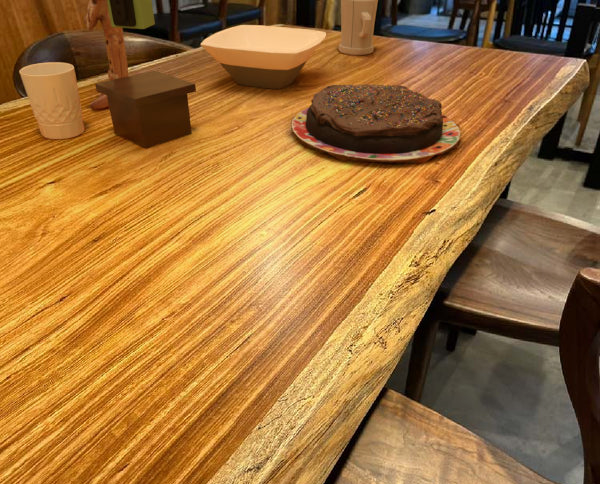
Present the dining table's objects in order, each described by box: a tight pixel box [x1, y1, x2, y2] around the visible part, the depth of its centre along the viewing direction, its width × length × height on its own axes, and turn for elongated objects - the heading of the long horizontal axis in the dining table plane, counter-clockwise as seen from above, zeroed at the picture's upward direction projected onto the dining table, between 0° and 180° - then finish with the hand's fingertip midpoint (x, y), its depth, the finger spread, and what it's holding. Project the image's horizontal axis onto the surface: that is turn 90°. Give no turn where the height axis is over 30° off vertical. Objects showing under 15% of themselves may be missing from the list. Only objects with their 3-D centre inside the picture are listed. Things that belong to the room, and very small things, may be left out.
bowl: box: [199, 24, 327, 90], centre depth 111 cm, size 22×23×8 cm
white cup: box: [18, 61, 85, 140], centre depth 85 cm, size 8×8×10 cm
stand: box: [94, 70, 197, 149], centre depth 86 cm, size 11×11×8 cm
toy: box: [107, 0, 156, 30], centre depth 75 cm, size 5×4×5 cm
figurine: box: [83, 0, 129, 110], centre depth 95 cm, size 11×8×20 cm
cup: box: [338, 0, 379, 56], centre depth 131 cm, size 10×9×12 cm
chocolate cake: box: [290, 84, 462, 164], centre depth 88 cm, size 28×28×7 cm
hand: (132, 21), depth 76 cm, fingers closed on toy, 3 cm apart
